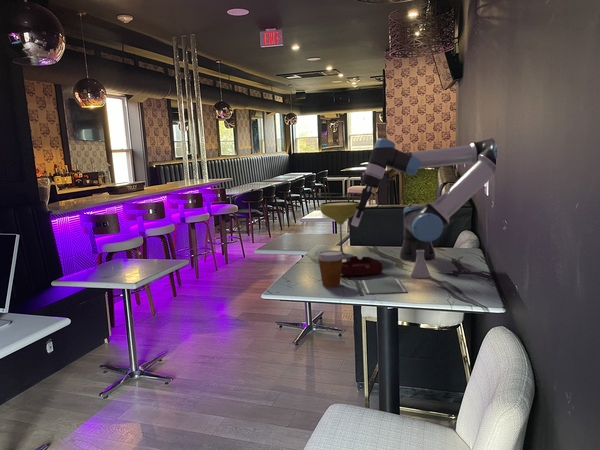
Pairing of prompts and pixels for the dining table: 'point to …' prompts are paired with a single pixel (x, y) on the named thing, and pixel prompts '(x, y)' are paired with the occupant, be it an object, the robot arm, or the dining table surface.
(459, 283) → the dining table surface
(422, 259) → the flask
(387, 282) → the mat
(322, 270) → the disposable coffee cup
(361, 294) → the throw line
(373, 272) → the ashtray
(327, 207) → the cocktail glass
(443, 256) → the dining table surface
